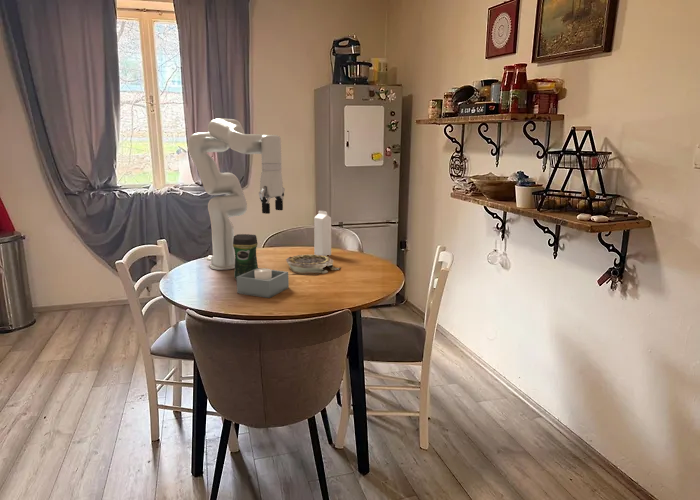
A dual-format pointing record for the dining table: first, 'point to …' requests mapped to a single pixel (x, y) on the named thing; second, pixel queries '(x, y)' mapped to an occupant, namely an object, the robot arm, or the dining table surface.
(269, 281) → the tub
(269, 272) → the cream rounded block
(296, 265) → the pie
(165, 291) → the dining table surface
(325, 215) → the milk
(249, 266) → the coffee jar
